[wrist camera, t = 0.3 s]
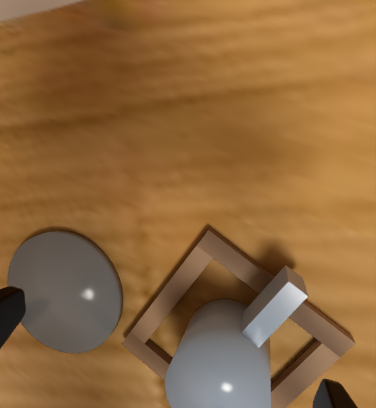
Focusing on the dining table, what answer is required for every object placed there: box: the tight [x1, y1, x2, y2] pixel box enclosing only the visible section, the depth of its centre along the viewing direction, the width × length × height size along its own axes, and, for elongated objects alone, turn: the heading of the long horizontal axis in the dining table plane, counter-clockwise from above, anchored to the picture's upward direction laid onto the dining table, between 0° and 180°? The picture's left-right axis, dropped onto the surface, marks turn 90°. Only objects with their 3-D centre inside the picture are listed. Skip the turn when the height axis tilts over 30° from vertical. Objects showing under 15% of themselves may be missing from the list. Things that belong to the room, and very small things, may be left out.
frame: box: [121, 228, 355, 408], centre depth 23 cm, size 13×13×1 cm
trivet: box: [7, 230, 123, 353], centre depth 27 cm, size 11×11×1 cm
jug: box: [165, 265, 308, 408], centre depth 21 cm, size 12×6×6 cm, turn 145°
